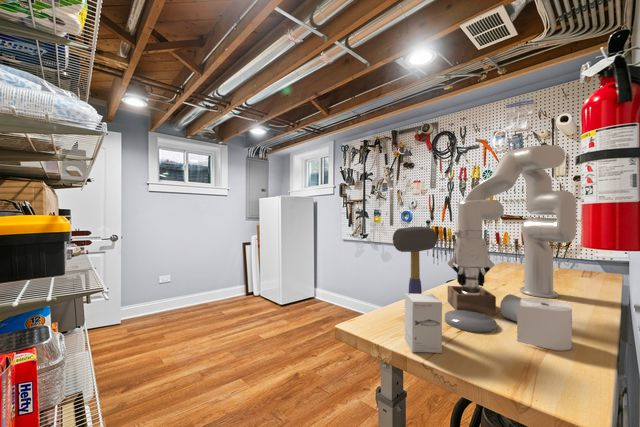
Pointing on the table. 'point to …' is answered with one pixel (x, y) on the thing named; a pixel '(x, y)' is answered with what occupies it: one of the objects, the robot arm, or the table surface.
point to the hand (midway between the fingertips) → (470, 284)
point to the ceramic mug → (510, 306)
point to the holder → (472, 301)
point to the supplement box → (423, 323)
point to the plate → (470, 321)
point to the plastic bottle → (471, 279)
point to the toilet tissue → (544, 323)
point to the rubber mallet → (414, 250)
